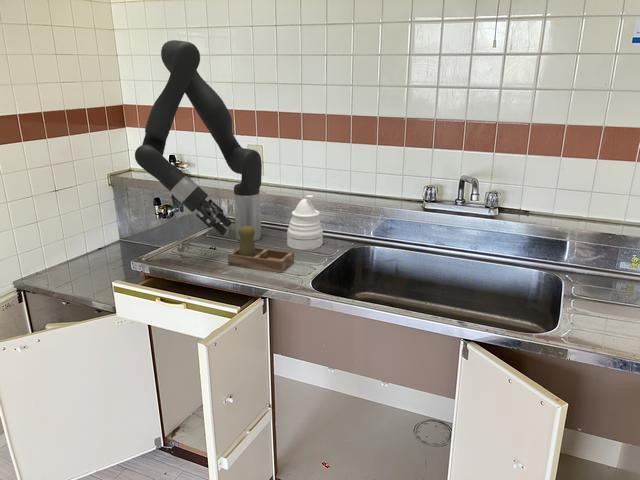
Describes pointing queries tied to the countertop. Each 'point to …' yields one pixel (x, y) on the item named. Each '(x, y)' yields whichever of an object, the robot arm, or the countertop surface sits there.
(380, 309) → the countertop surface
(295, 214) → the honey pot
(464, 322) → the countertop surface
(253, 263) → the spice caddy
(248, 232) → the cork
